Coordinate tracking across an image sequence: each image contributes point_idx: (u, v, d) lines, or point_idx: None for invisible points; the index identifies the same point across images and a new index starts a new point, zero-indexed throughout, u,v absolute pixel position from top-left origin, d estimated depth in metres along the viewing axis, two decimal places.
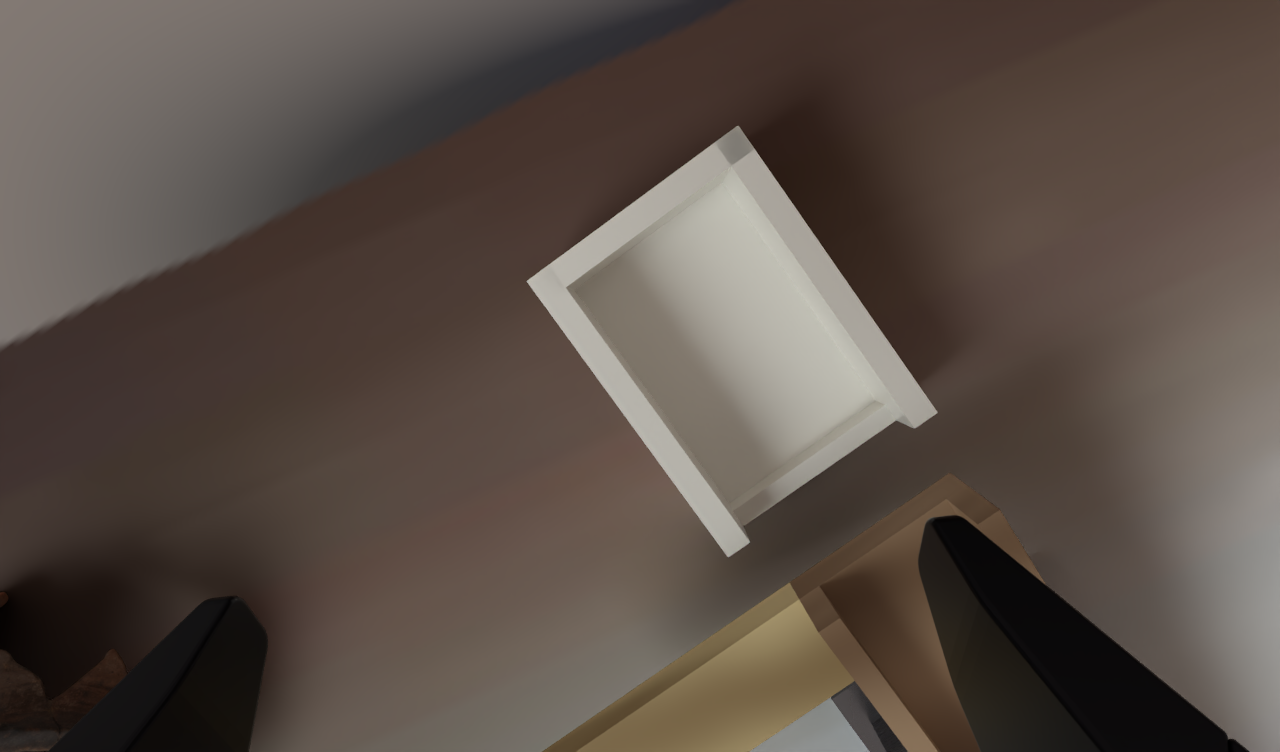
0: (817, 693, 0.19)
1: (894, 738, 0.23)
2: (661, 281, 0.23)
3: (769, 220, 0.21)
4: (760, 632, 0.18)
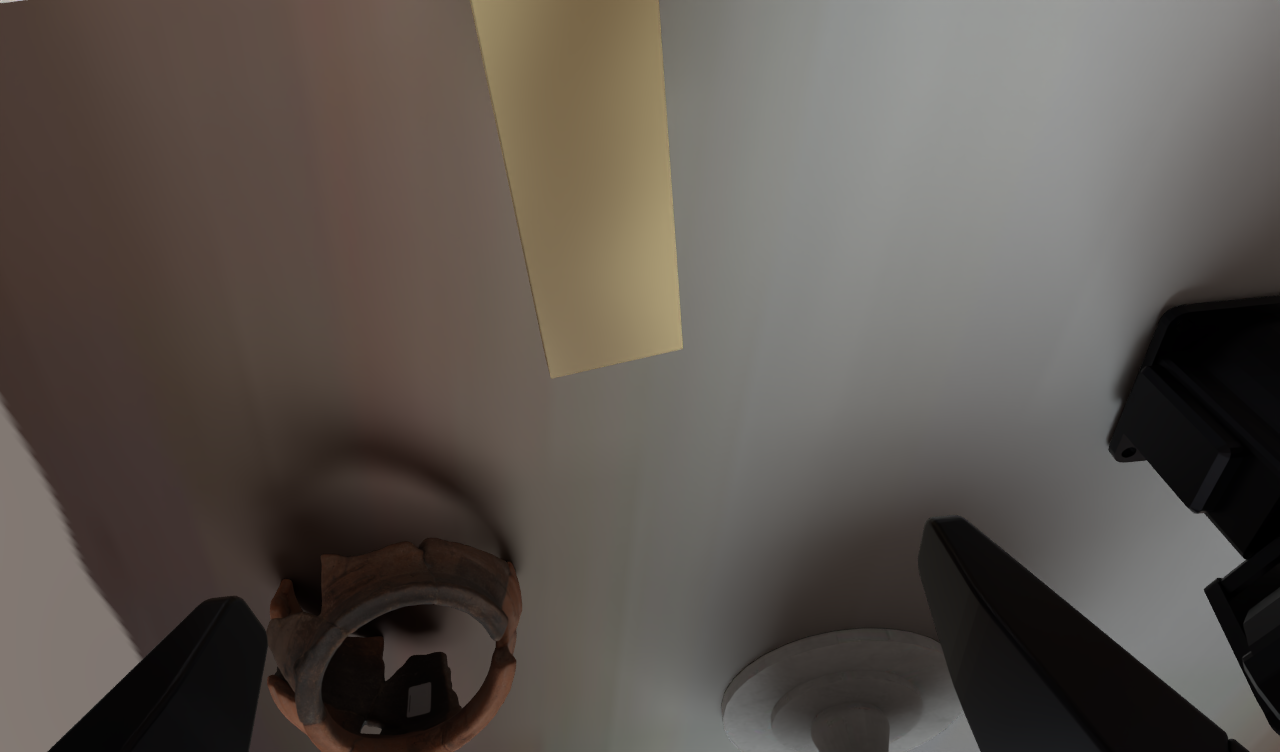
0: None
1: None
2: None
3: None
4: None
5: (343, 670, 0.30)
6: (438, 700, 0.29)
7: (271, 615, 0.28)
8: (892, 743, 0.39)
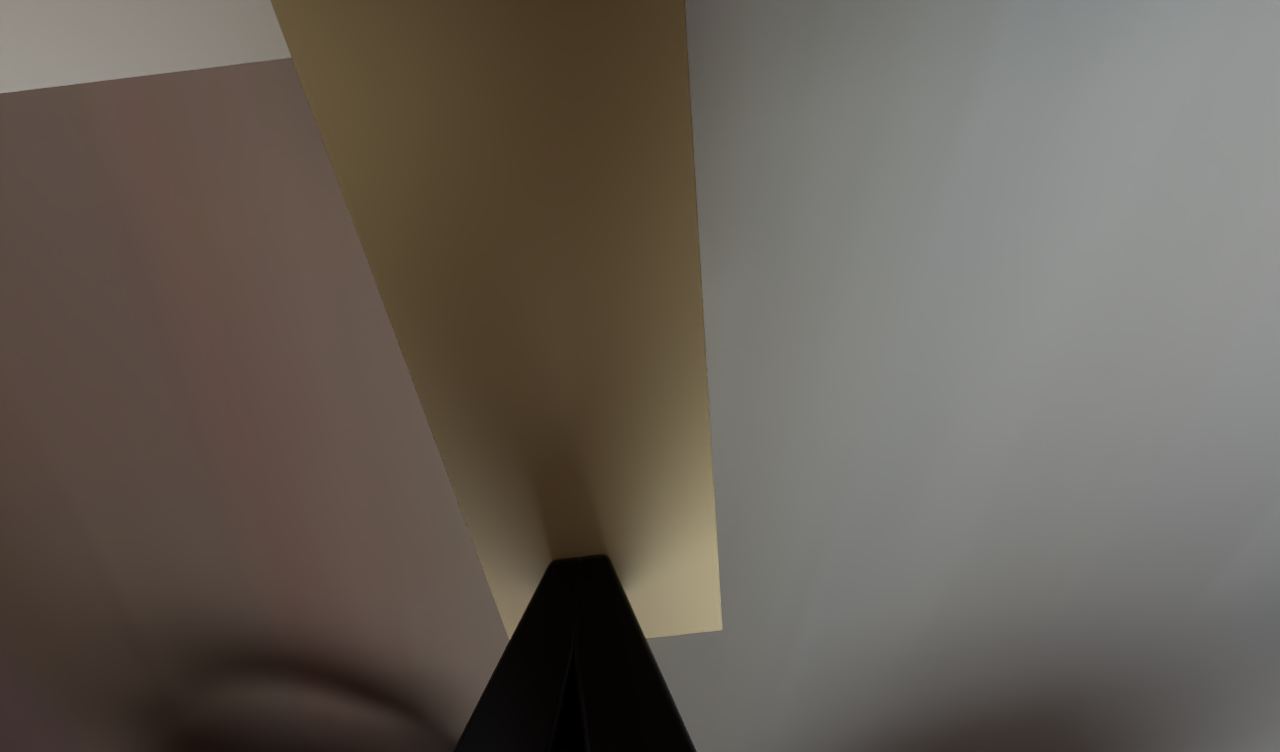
0: (645, 42, 0.06)
1: None
2: None
3: None
4: (334, 108, 0.06)
5: None
6: None
7: None
8: None
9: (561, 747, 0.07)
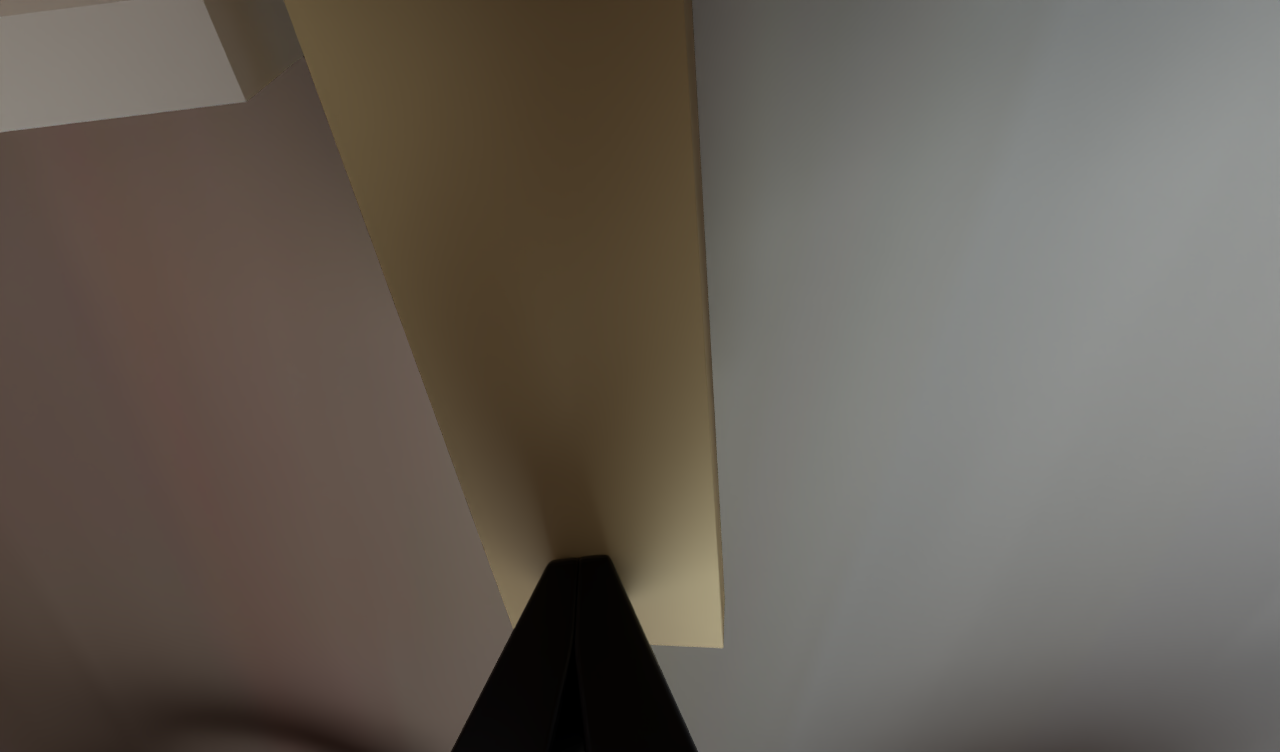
0: (643, 50, 0.05)
1: None
2: None
3: None
4: (341, 101, 0.06)
5: None
6: None
7: None
8: None
9: (559, 748, 0.07)
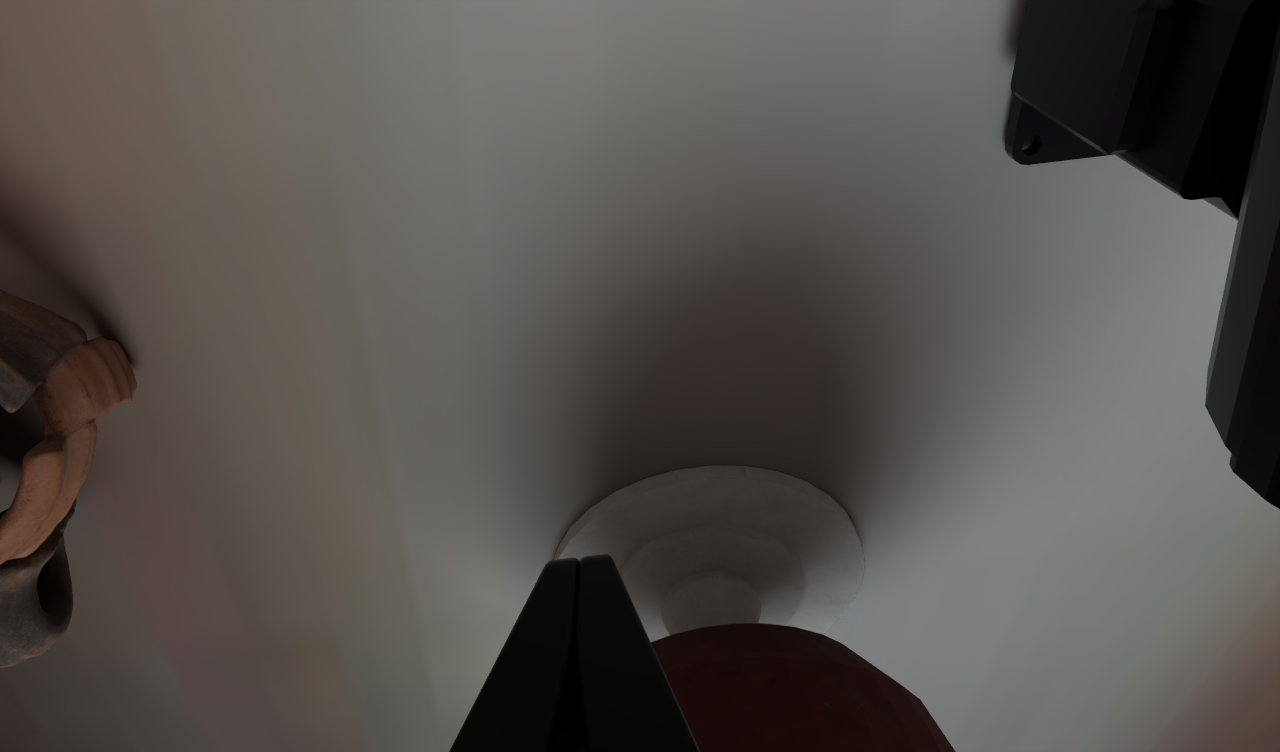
0: None
1: None
2: None
3: None
4: None
5: None
6: None
7: None
8: None
9: (557, 748, 0.07)
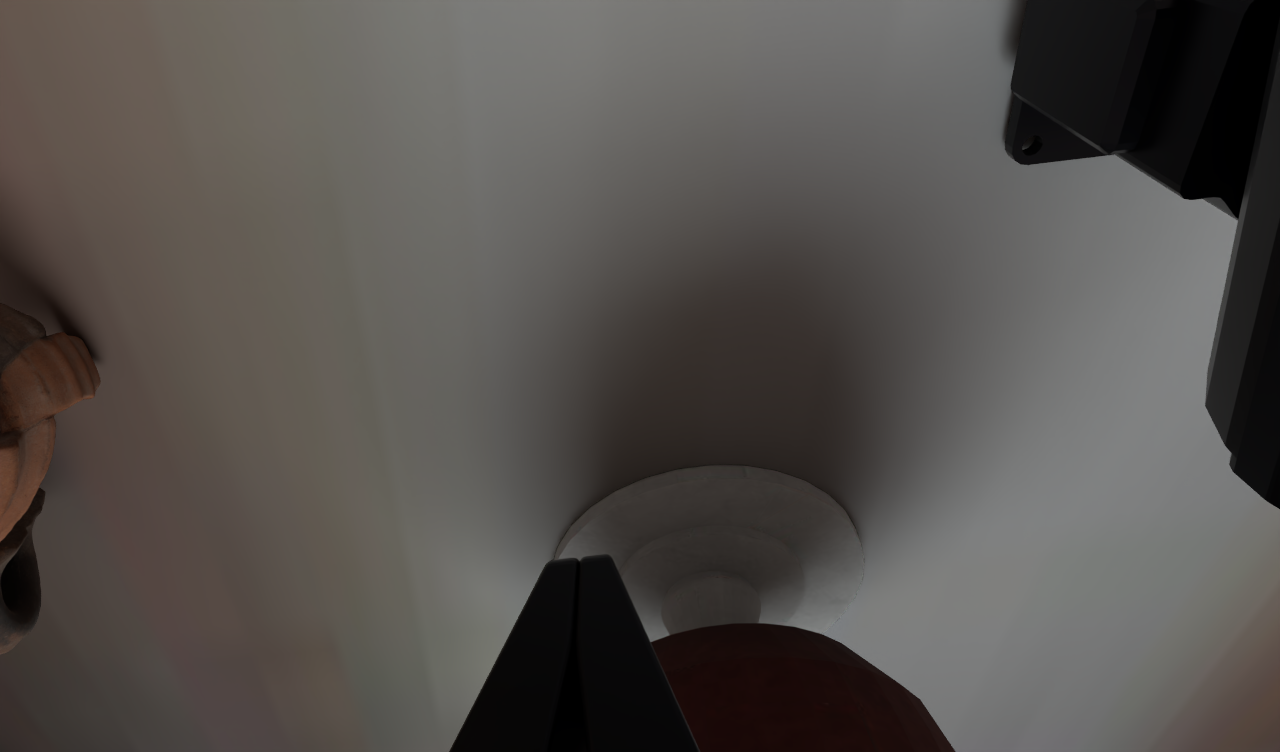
0: None
1: None
2: None
3: None
4: None
5: None
6: None
7: None
8: None
9: (557, 748, 0.07)
